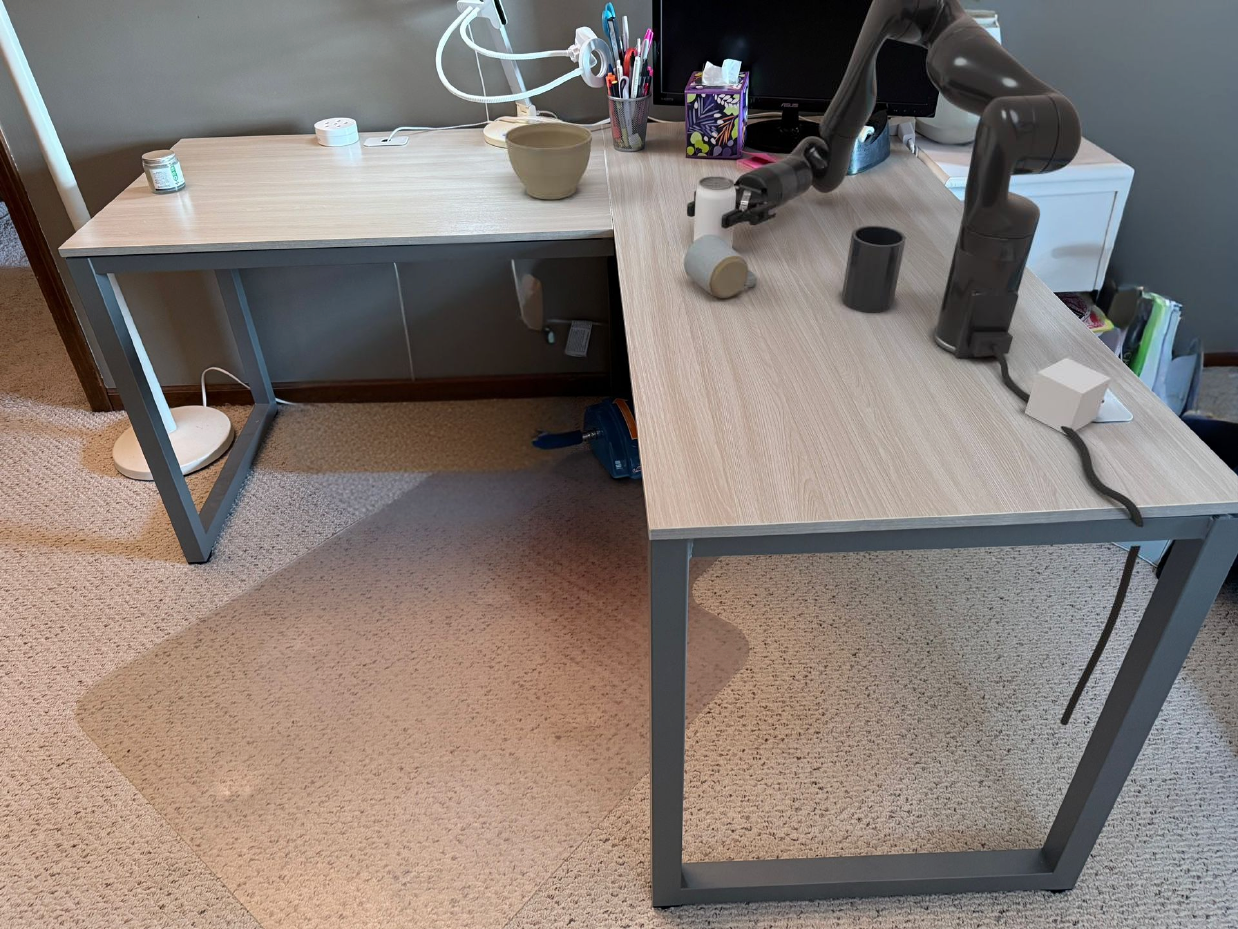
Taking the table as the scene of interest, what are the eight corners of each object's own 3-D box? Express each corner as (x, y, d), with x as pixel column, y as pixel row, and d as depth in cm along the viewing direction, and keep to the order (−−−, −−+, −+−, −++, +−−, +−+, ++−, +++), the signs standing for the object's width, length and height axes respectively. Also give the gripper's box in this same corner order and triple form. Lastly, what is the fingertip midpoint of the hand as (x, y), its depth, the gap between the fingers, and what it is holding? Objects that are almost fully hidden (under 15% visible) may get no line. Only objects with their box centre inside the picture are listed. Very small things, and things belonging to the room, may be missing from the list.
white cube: (1052, 398, 117) (1066, 357, 113) (1095, 419, 113) (1111, 378, 109) (1024, 413, 114) (1037, 372, 111) (1067, 435, 110) (1082, 393, 107)
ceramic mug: (709, 305, 137) (713, 258, 133) (681, 284, 143) (684, 238, 138) (767, 292, 141) (772, 245, 137) (737, 271, 147) (742, 226, 142)
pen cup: (898, 312, 136) (912, 245, 129) (848, 313, 135) (859, 246, 129) (884, 289, 142) (897, 225, 135) (836, 290, 142) (846, 225, 135)
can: (729, 262, 150) (734, 190, 142) (690, 258, 151) (693, 188, 144) (733, 246, 155) (738, 176, 147) (695, 243, 156) (699, 173, 149)
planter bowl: (605, 200, 172) (604, 141, 165) (523, 212, 167) (519, 152, 160) (576, 172, 184) (575, 117, 177) (499, 183, 179) (494, 126, 172)
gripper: (734, 157, 158) (672, 183, 149) (803, 177, 151) (743, 205, 141) (731, 199, 163) (671, 226, 153) (798, 220, 155) (739, 250, 145)
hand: (706, 216), depth 147 cm, fingers closed on can, 6 cm apart
